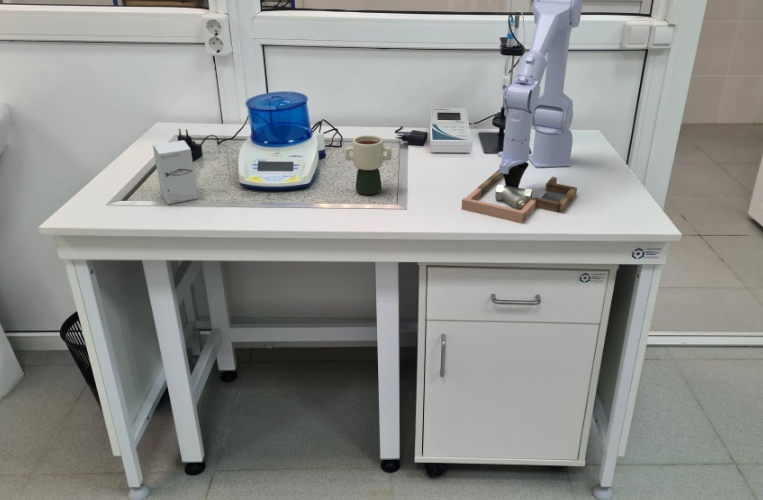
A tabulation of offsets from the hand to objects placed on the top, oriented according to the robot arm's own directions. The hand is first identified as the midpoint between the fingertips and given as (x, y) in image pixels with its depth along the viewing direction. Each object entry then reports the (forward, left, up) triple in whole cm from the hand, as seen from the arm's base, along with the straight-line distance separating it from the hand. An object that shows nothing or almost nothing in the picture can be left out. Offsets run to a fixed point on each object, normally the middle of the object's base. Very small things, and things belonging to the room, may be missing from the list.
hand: (511, 192), depth 150 cm
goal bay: (+4, +6, -1) cm, 7 cm away
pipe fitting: (+1, +4, -1) cm, 5 cm away
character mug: (+33, -7, -1) cm, 34 cm away
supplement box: (+78, -9, -1) cm, 79 cm away
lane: (-5, -1, -1) cm, 5 cm away
